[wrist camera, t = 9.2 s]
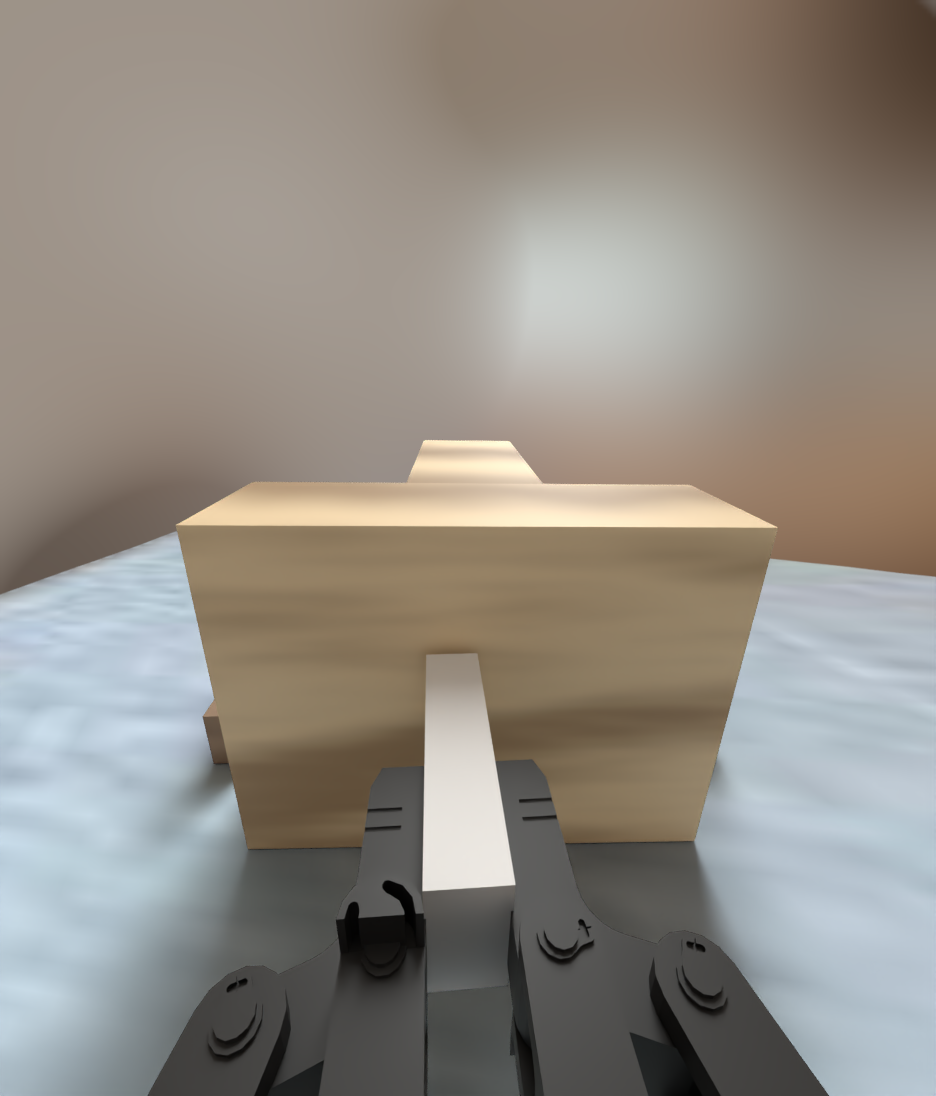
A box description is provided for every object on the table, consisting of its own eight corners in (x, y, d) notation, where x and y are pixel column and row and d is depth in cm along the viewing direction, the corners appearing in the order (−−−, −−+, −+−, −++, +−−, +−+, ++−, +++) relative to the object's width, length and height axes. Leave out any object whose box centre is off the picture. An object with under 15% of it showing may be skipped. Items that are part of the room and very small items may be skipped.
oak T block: (694, 840, 17) (778, 527, 13) (247, 849, 16) (176, 524, 12) (581, 619, 32) (601, 442, 28) (345, 620, 31) (329, 439, 27)
